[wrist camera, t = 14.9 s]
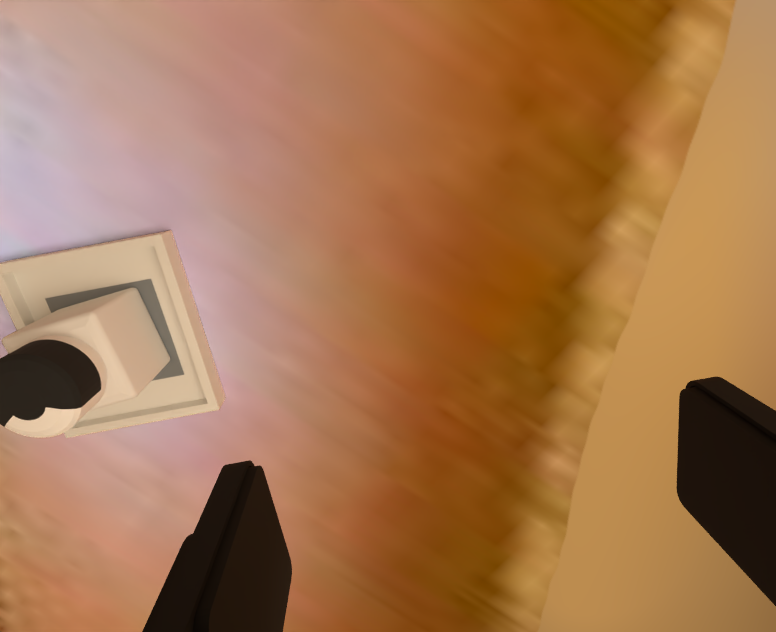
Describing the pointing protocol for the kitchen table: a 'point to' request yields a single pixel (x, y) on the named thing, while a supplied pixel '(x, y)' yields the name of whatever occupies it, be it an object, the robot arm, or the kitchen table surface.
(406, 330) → the kitchen table surface
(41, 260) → the tray
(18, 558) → the kitchen table surface
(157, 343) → the medicine bottle
